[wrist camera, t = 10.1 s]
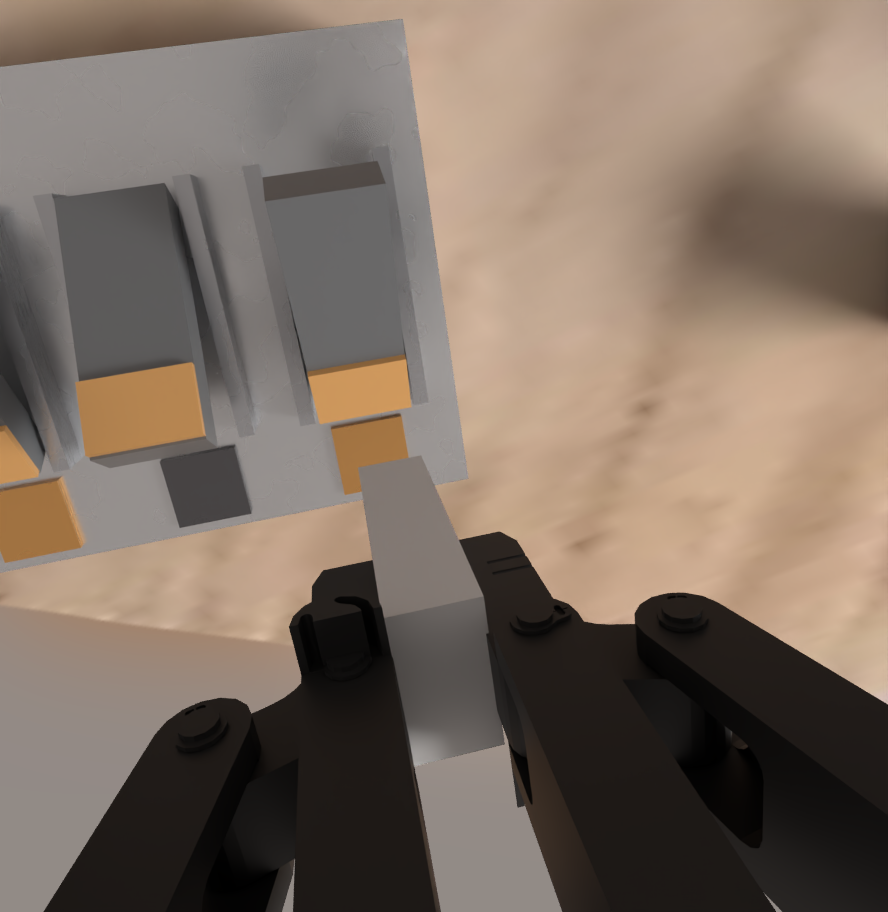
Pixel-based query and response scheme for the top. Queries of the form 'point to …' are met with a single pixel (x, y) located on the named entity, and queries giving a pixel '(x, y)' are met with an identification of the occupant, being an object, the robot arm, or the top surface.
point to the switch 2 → (133, 327)
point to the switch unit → (212, 277)
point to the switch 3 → (342, 286)
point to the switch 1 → (18, 439)
